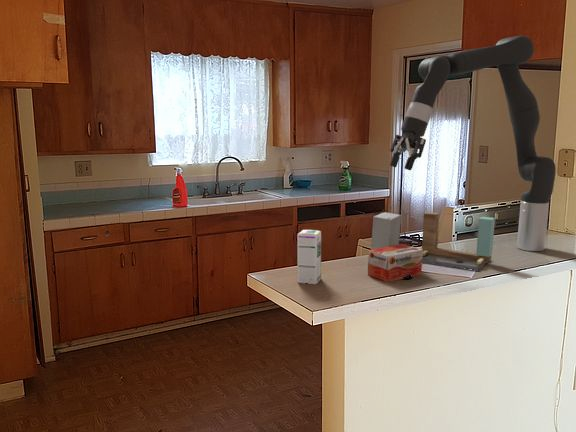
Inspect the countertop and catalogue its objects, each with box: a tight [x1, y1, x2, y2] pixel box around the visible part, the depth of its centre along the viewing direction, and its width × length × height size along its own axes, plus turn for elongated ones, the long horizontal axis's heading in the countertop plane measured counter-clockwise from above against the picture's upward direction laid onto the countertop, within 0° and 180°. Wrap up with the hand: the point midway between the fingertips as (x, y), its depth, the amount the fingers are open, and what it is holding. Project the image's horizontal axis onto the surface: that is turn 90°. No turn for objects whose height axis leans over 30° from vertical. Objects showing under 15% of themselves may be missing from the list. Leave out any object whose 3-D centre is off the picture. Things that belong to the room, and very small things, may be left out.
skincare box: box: [370, 211, 402, 250], centre depth 174 cm, size 8×7×16 cm
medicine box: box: [367, 243, 423, 283], centre depth 161 cm, size 15×8×8 cm, turn 125°
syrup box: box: [296, 229, 322, 285], centre depth 154 cm, size 6×6×14 cm
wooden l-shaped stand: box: [421, 211, 493, 263], centre depth 176 cm, size 9×22×14 cm, turn 57°
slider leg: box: [475, 216, 496, 264], centre depth 171 cm, size 9×4×14 cm, turn 147°
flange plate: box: [422, 253, 488, 272], centre depth 178 cm, size 16×21×1 cm
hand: (399, 168), depth 172 cm, fingers open, 8 cm apart
